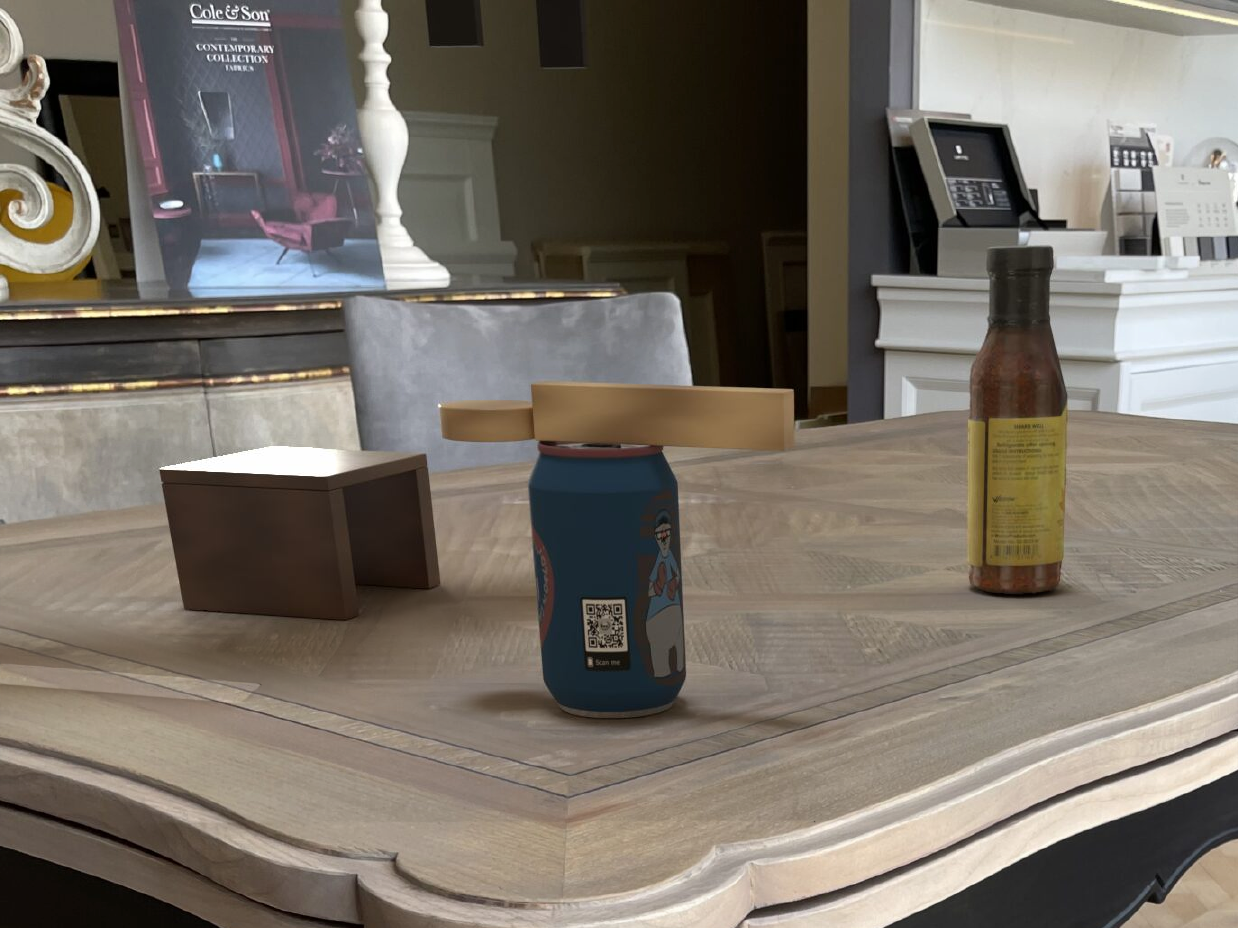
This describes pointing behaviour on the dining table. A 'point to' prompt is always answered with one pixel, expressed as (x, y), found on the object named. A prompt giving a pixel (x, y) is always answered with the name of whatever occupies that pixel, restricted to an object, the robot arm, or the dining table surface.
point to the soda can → (608, 577)
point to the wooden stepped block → (630, 416)
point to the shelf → (299, 529)
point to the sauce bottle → (1017, 432)
